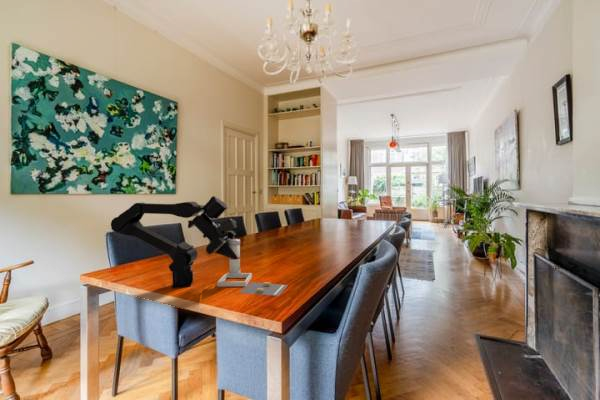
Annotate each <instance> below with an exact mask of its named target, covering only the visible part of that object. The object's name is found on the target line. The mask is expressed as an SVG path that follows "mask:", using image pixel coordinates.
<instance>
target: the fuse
mask: <svg viewBox="0 0 600 400" xmlns="http://www.w3.org/2000/svg"><path fill="white" fill-rule="evenodd" d="M229 246H230V248H231V249H232V250H233V252H234V253H235V254H236V256H237V257H238V258H237V259H236V260H235V259H232V258H229V257H228V262H229V270H228V273H229V276H239V275H241V273H242V271H241V255H240V254H241V251H240V250H241V239H240V238H234V239H230V240H229Z"/></svg>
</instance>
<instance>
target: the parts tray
mask: <svg viewBox="0 0 600 400" xmlns="http://www.w3.org/2000/svg"><path fill="white" fill-rule="evenodd" d="M252 276H253V273H252V272H249V273H248V272H244V273H243V272H241V275H239V276H229V272H227V273H225V274H224V275H223V276H222V277H221V278H220V279H219V280H218V281H217V282H216V287H246V286H247V285H249V282H250V281H251V279H252V278H253V277H252ZM229 278H230V279H235V278H236V279H237V278H238V279H242V278H245V280H244V281H240V280H238V281H237V280H236V281H231V280H230V281H229V280H228V281H226V280H227V279H229Z"/></svg>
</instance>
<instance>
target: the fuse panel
mask: <svg viewBox="0 0 600 400" xmlns="http://www.w3.org/2000/svg"><path fill="white" fill-rule="evenodd" d="M287 287H288V284H275V283H272V282H267V281H266V282H265V281H264V282H253V281H252V282H250V283H248V284H247V285H246V286H244V287H243V288H242V289H241V290H239V291H238V293H241V294H250V295H251V294H252V295H260V296H261V295H262V296H272V297H273V296H275V297H279V296H280V295H281V294H282V293H283V291H284V290H285V289H286V288H287Z"/></svg>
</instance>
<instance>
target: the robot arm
mask: <svg viewBox="0 0 600 400" xmlns="http://www.w3.org/2000/svg"><path fill="white" fill-rule="evenodd" d="M228 208H229V207H228V206H227V204H226V202H225V201H222V200H221V199H220V198H218V197H217V196H215V195H214V196H212V195H211V197H210V199H209V200H208V201H207V202H206V203H205V204H203V205H202V204H199V203H198V202H196V201H185V202H179V203H151V202H150V203H148V202H147V203H146V202H135V203H134V204H132V205H131V206H130V207H129V208H128V209H126V210H125V211H123V212H122V213H120V214H119V215H118V216H116V217H114V218H113V219H112V220H111V221H110V228H111V229H110V230H112V231H113V232H114V233H117V234H119V235H123V236H129V237H134V238H136V239H138V240H140V241H142V242H144V243H146V244H147V245H149V246H151V247H153V248H155V249H157V250H159V251H161V252H163V253H165V254H167V255H168V256H169V257H170V259H171V261H172V262H171V263H170V264H168V269H169V271H170V272H171V274H172V278H171V279H172V284H171V289H174V288H175V289H176V288H184V287H185V288H186V287H191V286H192V284H193V282H194V269H192V266H193V264H194V263H195V261H196V260H197V259H198V255H199V254H198V251H197V250H198V249H196V248H195V246H194V245H192V244H191V245H190V244H189V243H187V241H182V242H181V243H176V242H174V241H172V240H170V239H168V238H166V237H164V236H163V235H160V234H159V233H156V232H155V231H153V230H150V228H147V227H145V226H144V224H142V222H141V220H142V218H143V217H144V215H145V214H151V215H152V214H153V215H154V214H155V215H171V216H172V215H174V216H175V217H179V218H184V219H188V218H193V219H190V220H188V221H187V228H188V229H190V228H194V227H195V228H196V229H198V231H199V232H200V233H202V234H203V235H202V237H203V238H204V239H205V238H206V239H208V240H209V241H210V243H209V244H208V245H207V246H206V247H205V249H206V250H205V252H206V253H208V254H209V255H212V254H216V255H217V254H218V255H221V256H224V257H226V258H228V259H229V258H232V259H235V260H236V259H237V258H238V257H237V256H236V254H235V253H234V252H233V250H232V249H231V248H230V246H229V240H230V239H236V237H235V236H236V235H237V233H236V232H235V231H234V229H235V228H236V229H237V228H238V225H237V221H236V220H235V219H232V218H228V219H227V220H225V223H223V224H220V223H215V222H214V221H213V220H214V219H216V220H217V219H218V218H220V216H221V215H222V214H223V213H225V212H226V210H227V209H228ZM199 213H200V215H199ZM215 250H216V251H215ZM214 251H215V252H214ZM240 256H241V253H240Z"/></svg>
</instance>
